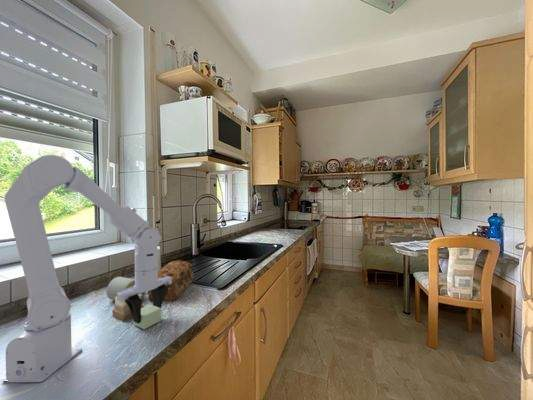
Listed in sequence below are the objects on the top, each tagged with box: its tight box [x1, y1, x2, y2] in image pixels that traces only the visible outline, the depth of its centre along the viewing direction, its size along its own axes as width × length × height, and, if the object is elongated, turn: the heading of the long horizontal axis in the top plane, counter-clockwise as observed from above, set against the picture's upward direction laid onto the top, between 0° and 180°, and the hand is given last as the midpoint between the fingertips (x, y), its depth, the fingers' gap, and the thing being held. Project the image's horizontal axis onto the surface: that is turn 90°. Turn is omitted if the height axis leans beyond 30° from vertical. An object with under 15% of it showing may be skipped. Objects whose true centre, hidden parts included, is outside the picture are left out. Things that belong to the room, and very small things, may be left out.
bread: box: [146, 259, 194, 302], centre depth 86 cm, size 19×11×10 cm, turn 179°
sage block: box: [132, 304, 162, 330], centre depth 63 cm, size 5×5×4 cm
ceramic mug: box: [106, 276, 135, 301], centre depth 80 cm, size 11×8×8 cm
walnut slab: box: [111, 304, 145, 322], centre depth 68 cm, size 6×6×2 cm
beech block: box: [114, 294, 142, 313], centre depth 68 cm, size 5×5×4 cm
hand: (147, 317), depth 63 cm, fingers closed on sage block, 5 cm apart
